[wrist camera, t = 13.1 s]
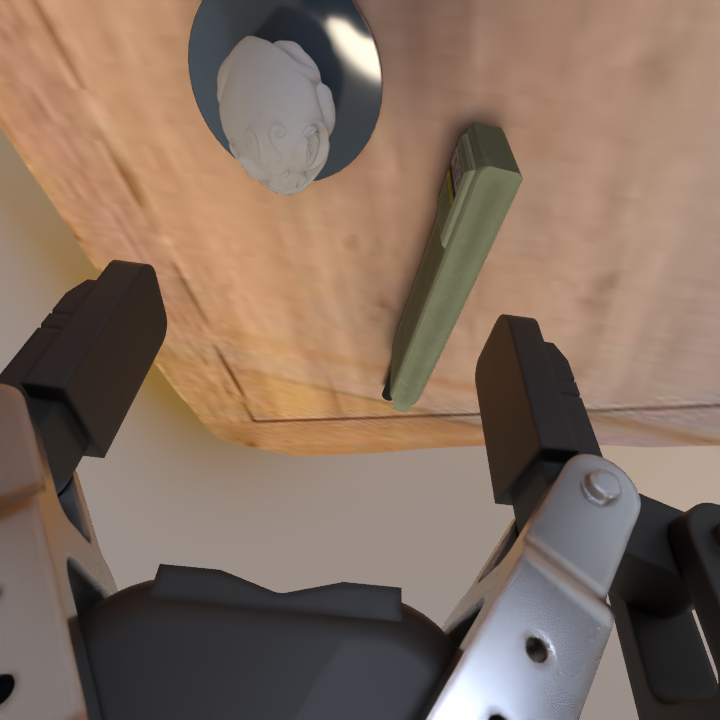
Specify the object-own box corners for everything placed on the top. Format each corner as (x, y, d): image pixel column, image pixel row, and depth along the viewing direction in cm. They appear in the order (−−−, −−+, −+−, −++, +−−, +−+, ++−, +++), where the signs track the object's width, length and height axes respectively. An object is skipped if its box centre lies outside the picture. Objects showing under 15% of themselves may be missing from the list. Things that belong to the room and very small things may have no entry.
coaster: (174, -59, 22) (170, -58, 21) (397, -24, 22) (397, -22, 22) (205, 167, 29) (202, 171, 29) (369, 189, 30) (368, 193, 30)
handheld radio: (514, 131, 27) (405, 389, 45) (462, 118, 27) (373, 383, 44) (535, 177, 22) (404, 445, 40) (472, 162, 22) (368, 438, 40)
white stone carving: (261, 164, 29) (234, 217, 24) (212, 34, 24) (166, 68, 19) (352, 144, 27) (344, 196, 22) (321, 3, 22) (301, 30, 18)
